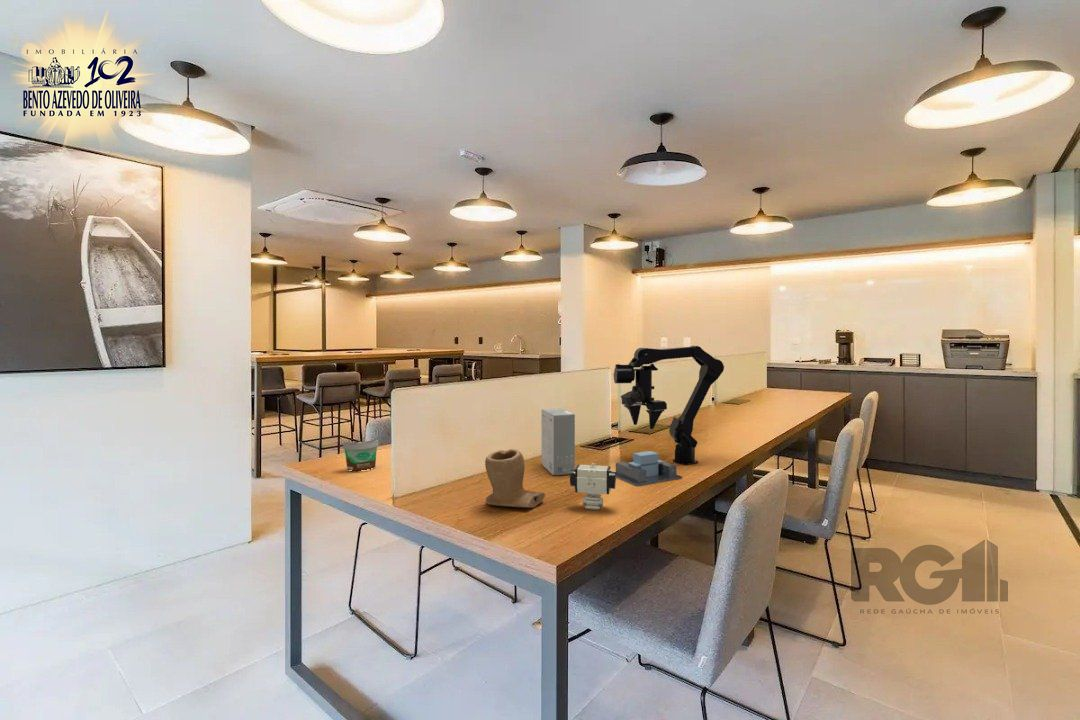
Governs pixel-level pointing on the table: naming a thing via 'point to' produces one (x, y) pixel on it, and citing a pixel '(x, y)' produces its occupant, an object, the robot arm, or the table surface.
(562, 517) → the table surface
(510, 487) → the brown hollow cup shape
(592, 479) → the pneumatic valve
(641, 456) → the block
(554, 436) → the hard drive box
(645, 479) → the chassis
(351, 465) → the food container
